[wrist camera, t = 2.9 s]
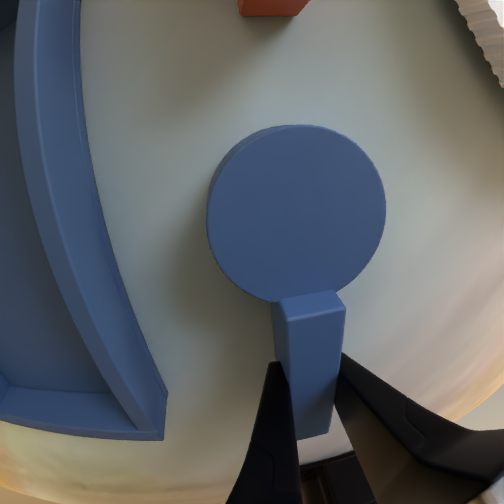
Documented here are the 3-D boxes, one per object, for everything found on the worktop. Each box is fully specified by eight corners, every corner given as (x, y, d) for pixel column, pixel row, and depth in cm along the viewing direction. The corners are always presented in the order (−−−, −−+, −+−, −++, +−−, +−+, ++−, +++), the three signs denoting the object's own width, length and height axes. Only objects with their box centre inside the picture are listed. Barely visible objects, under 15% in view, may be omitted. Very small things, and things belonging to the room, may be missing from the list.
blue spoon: (344, 383, 12) (363, 422, 10) (244, 404, 11) (251, 449, 9) (358, 123, 7) (407, 125, 5) (195, 135, 7) (187, 137, 5)
